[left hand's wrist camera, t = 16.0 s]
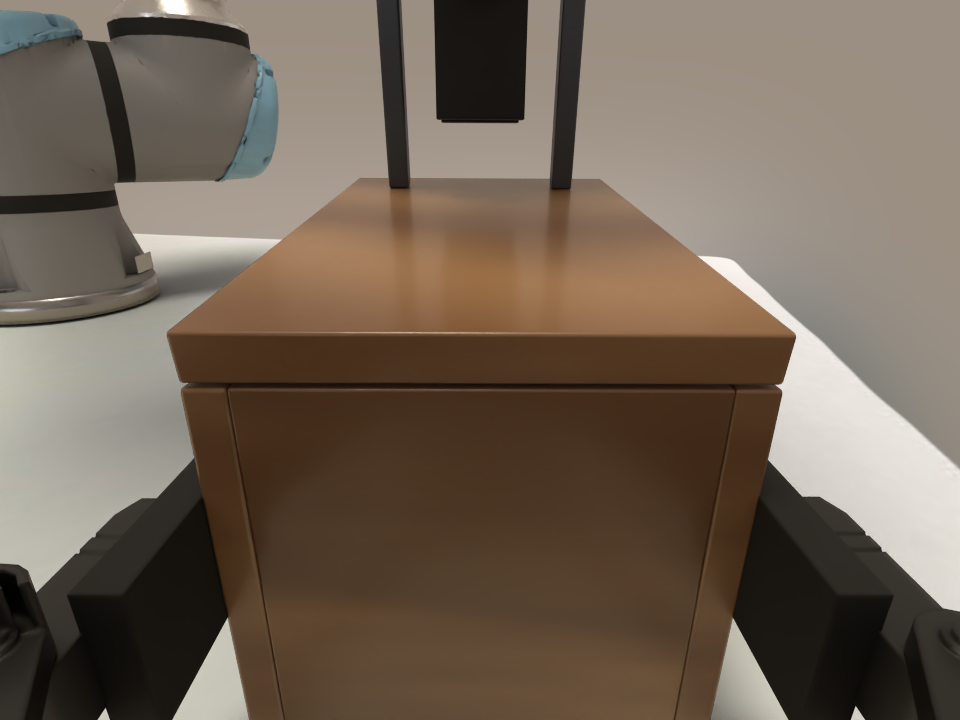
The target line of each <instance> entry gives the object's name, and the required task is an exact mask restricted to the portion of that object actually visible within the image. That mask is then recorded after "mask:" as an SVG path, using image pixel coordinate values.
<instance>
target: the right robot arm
mask: <svg viewBox="0 0 960 720" xmlns="http://www.w3.org/2000/svg"><path fill="white" fill-rule="evenodd" d="M527 16H528V0H434V22H435V67H436V113H437V119H438V120H442V122H443V123H518V121H519V120H523V119H524V109H525V78H526V47H527ZM107 26H108V31H109V36H110V41H111V42H98V41H88V40H83V39H82V37H83V36H82V31H81V30H80V29H79V28H78V26H77V24H76V23H75V22H74V21H73V20H71V19H70V18H67V17H65V16H61V15H56V14H42V13H39V12H31V11H9V10H0V325H10V324H31V323H43V322H53V321H61V320H69V319H76V318H82V317H88V316H94V315H99V314H104V313H109V312H113V311H118V310H122V309H125V308H129V307H132V306H135V305H138V304H141V303H144V302H146V301H149V300H151V299H152V298H154V297H156V296H157V295H158V294H159V292H160V290H159V285H158V280H157V276H156V272H155V271H154V269H153V263H152V258H151V253H150V252H147V253H145V254H144V252H143V251H142V249H141V247H140V246H139V244H138V242H137V241H136V239H135V237H134V236H133V234H132V232H131V231H130V229H129V227H128V226H127V224H126V223H125V221H124V219H123V217H122V215H121V212H120V209H119V205H118V200H117V196H116V191H115V186H114V184H115V183H123V182H171V181H217V182H223V181H225V180H230V179H244V178H253V177H256V176H258V175H260V174H261V173H262V172H264V170H265V169H266V168H267V166H268V165H269V163H270V161H271V158H272V155H273V152H274V148H275V144H276V138H277V130H278V94H277V86H276V81H275V79H274V78H273V70H272V68H271V66H270V64H269V62H268V61H267V60H266V59H264V58H262V57H260V56H259V55H257V54H251V53H250V46H249V39H248V33H247V30H246V29H245V28H244V27H243V26H242V25H241V24H240V23H239V22H238V21H237V20H236V19H235V18H234V17H233V16H232V15H231V14H230V12H229V10H228V9H227V2H226V0H121V3H120V4H119V5H118V6H117V7H116V8H115V10H114V11H113V12H112V13H111V14H110V15H109V16H108V18H107Z"/></svg>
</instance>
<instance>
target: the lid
mask: <svg viewBox="0 0 960 720" xmlns="http://www.w3.org/2000/svg"><path fill="white" fill-rule="evenodd" d="M585 2H586V0H561V4H560V21H559V37H558V54H557V70H556V87H555V104H554V121H553V137H552V153H551V170H550V179H465V178H464V179H463V178H410V164H409V145H408V126H407V106H406V87H405V67H404V48H403V28H402V10H401V0H377V15H378V29H379V44H380V58H381V73H382V88H383V102H384V117H385V131H386V145H387V160H388V174H389V178H360V179H358V180H357V181H356V182H354V183H353V184H352V185H351V186H349V187H348V188H347V189H346V190H344V191H343V192H342V193H341V194H339V195H338V196H337V197H336V198H334V199H333V200H332V201H331V202H329V203H328V204H327V205H326V206H324V207H323V208H322V209H321V210H319V211H318V212H317V213H316V214H314V215H313V216H312V217H310V218H309V219H308V220H307V221H305V222H304V223H303V224H302V225H300V226H299V227H298V228H297V229H295V230H294V231H293V232H292V233H290V234H289V235H288V236H287V237H285V238H284V239H283V240H282V241H280V242H279V243H278V244H277V245H275V246H274V247H273V248H272V249H270V250H269V251H268V252H267V253H265V254H264V255H263V256H262V257H260V258H259V259H258V260H257V261H255V262H254V263H253V264H252V265H250V266H249V267H248V268H247V269H245V270H244V271H243V272H242V273H240V274H239V275H238V276H237V277H235V278H234V279H233V280H232V281H230V282H229V283H228V284H227V285H225V286H224V287H223V288H222V289H220V290H219V291H218V292H216V293H215V294H214V295H213V296H211V297H210V298H209V299H208V300H206V301H205V302H204V303H203V304H201V305H200V306H199V307H198V308H196V309H195V310H194V311H193V312H191V313H190V314H189V315H188V316H186V317H185V318H184V319H183V320H181V321H180V322H179V323H178V324H176V325H175V326H174V327H173V328H171V329H170V330H169V331H168V332H167V338H168V342H169V346H170V349H171V353H172V356H173V360H174V363H175V367H176V370H177V374H178V377H179V380H180V382H182V383H418V384H755V385H779V384H782V382H783V380H784V377H785V374H786V370H787V367H788V363H789V360H790V357H791V353H792V350H793V346H794V343H795V340H796V335H795V333H794V332H793V331H791V330H790V329H789V328H787V327H786V326H785V325H784V324H782V323H781V322H780V321H779V320H777V319H776V318H775V317H774V316H772V315H771V314H770V313H768V312H767V311H766V310H765V309H763V308H762V307H761V306H760V305H758V304H757V303H756V302H755V301H753V300H752V299H751V298H750V297H748V296H747V295H746V294H744V293H743V292H742V291H741V290H739V289H738V288H737V287H736V286H734V285H733V284H732V283H731V282H729V281H728V280H727V279H726V278H724V277H723V276H722V275H720V274H719V273H718V272H717V271H715V270H714V269H713V268H712V267H710V266H709V265H708V264H707V263H705V262H704V261H703V260H701V259H700V258H699V257H698V256H696V255H695V254H694V253H693V252H691V251H690V250H689V249H688V248H686V247H685V246H684V245H683V244H681V243H680V242H679V241H677V240H676V239H675V238H674V237H672V236H671V235H670V234H669V233H667V232H666V231H665V230H664V229H662V228H661V227H660V226H658V225H657V224H656V223H655V222H653V221H652V220H651V219H650V218H648V217H647V216H646V215H645V214H643V213H642V212H641V211H639V210H638V209H637V208H636V207H634V206H633V205H632V204H631V203H629V202H628V201H627V200H626V199H624V198H623V197H622V196H620V195H619V194H618V193H617V192H615V191H614V190H613V189H612V188H610V187H609V186H608V185H607V184H605V183H604V182H603V181H602V180H600V179H572V169H573V156H574V143H575V130H576V117H577V104H578V91H579V79H580V66H581V53H582V40H583V27H584V15H585Z"/></svg>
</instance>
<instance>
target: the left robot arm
mask: <svg viewBox="0 0 960 720" xmlns="http://www.w3.org/2000/svg"><path fill="white" fill-rule="evenodd" d="M227 618H228V616H227V611H226V606H225V602H224V597H223V592H222V587H221V583H220V578H219V573H218V568H217V563H216V559H215V554H214V549H213V544H212V540H211V535H210V530H209V525H208V520H207V516H206V511H205V506H204V501H203V497H202V492H201V487H200V482H199V477H198V473H197V468H196V463H195V458H194V459H193V460H192V461H191V462H190V463H189V464H188V465H187V467H186V468H185V469H184V470H183V471H182V472H181V473H180V474H179V475H178V476H177V477H176V478H175V479H174V481H173V482H172V483H171V484H170V485H169V486H168V487H167V488H166V489H165V490H164V491H163V492H162V493H161V494H160V496H159V497H158V498H142V499H140V500H138V501H137V502H135V503H133V504H132V505H130V506H129V507H127V508H125V509H124V510H122V511H120V512H119V513H117V514H115V515H114V516H113V517H112V518H111V519H110V520H109V521H108V522H107V523H106V524H105V525H104V526H103V527H102V528H101V529H100V530H99V531H98V532H97V533H96V537H92V538H91V539H90V540H89V541H88V542H87V543H86V544H85V545H84V546H83V547H82V548H81V549H80V553H79V554H75V555H74V556H73V557H72V558H71V559H70V560H69V561H68V562H67V563H66V564H65V565H64V566H63V567H62V568H61V569H60V570H59V571H58V572H57V573H56V574H55V575H54V576H53V577H52V578H51V579H50V580H49V581H48V582H47V583H46V584H45V585H44V586H43V587H42V588H41V589H40V590H39V591H38V592H37V593H36V591H35V588H34V586H33V583H32V580H31V578H30V575H29V572H28V571H27V570H26V569H24V568H23V567H21V566H19V565H14V564H0V720H98V718H99V717H100V715H101V714H102V712H103V711H104V709H105V708H106V710H107V712H108V715H109V718H110V720H172V719H173V717H174V715H175V714H176V712H177V710H178V708H179V706H180V704H181V702H182V701H183V699H184V697H185V695H186V693H187V691H188V690H189V688H190V686H191V684H192V682H193V680H194V678H195V677H196V675H197V673H198V671H199V669H200V667H201V666H202V664H203V662H204V660H205V658H206V656H207V654H208V653H209V651H210V649H211V647H212V645H213V643H214V642H215V640H216V638H217V636H218V634H219V632H220V630H221V629H222V627H223V625H224V623H225V621H226V619H227ZM733 618H734V620H735V622H736V624H737V626H738V628H739V630H740V631H741V633H742V635H743V637H744V639H745V641H746V642H747V644H748V646H749V648H750V650H751V652H752V653H753V655H754V657H755V659H756V661H757V663H758V665H759V666H760V668H761V670H762V672H763V674H764V676H765V677H766V679H767V681H768V683H769V685H770V687H771V689H772V690H773V692H774V694H775V696H776V698H777V700H778V701H779V703H780V705H781V707H782V709H783V711H784V713H785V714H786V716H787V718H788V720H851V717H852V715H853V712H854V709H855V706H856V707H857V708H858V710H859V711H860V713H861V714H862V716H863V717H864V719H865V720H960V612H959V611H954V610H948V609H943V608H942V607H941V606H940V605H939V604H938V603H937V602H936V601H935V600H934V599H933V598H932V597H931V596H930V595H929V594H928V593H927V592H926V591H925V590H924V589H923V588H922V587H921V586H920V585H919V584H918V583H917V582H916V581H915V580H914V579H913V578H912V577H910V576H909V575H908V574H907V573H906V572H905V571H904V570H903V569H902V568H901V567H900V566H899V565H898V564H897V563H896V562H895V561H894V560H893V559H892V558H891V557H890V556H889V555H888V554H887V553H886V552H882V550H881V547H880V546H879V545H878V544H877V543H876V542H875V541H874V540H873V539H872V538H871V537H870V536H866V534H865V531H864V530H863V529H862V528H861V527H860V526H859V525H858V524H857V523H856V522H855V521H854V520H853V519H852V518H851V517H850V516H849V515H848V514H847V513H845V512H844V511H842V510H840V509H839V508H837V507H835V506H834V505H832V504H830V503H829V502H827V501H825V500H824V499H822V498H820V497H802V496H801V495H800V494H799V493H798V492H797V491H796V490H795V488H794V487H793V486H792V485H791V484H790V483H789V482H788V481H787V480H786V479H785V478H784V477H783V476H782V475H781V473H780V472H779V471H778V470H777V469H776V468H775V467H774V466H773V465H772V464H771V463H770V462H769V461H767V465H766V470H765V475H764V479H763V484H762V488H761V493H760V497H759V499H758V503H757V508H756V512H755V517H754V522H753V526H752V531H751V535H750V540H749V545H748V549H747V554H746V559H745V563H744V568H743V572H742V577H741V582H740V586H739V591H738V595H737V600H736V605H735V609H734V614H733Z"/></svg>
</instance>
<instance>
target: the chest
mask: <svg viewBox="0 0 960 720" xmlns="http://www.w3.org/2000/svg"><path fill="white" fill-rule="evenodd" d="M181 396H182V401H183V406H184V411H185V415H186V420H187V425H188V430H189V435H190V439H191V444H192V449H193V454H194V458H195V463H196V468H197V473H198V477H199V482H200V487H201V492H202V497H203V501H204V506H205V511H206V516H207V520H208V525H209V530H210V535H211V540H212V544H213V549H214V554H215V559H216V563H217V568H218V573H219V578H220V583H221V587H222V592H223V597H224V602H225V606H226V611H227V616H228V621H229V626H230V630H231V635H232V640H233V645H234V649H235V654H236V659H237V664H238V669H239V673H240V678H241V683H242V688H243V692H244V697H245V702H246V707H247V712H248V716H249V720H710V719H711V714H712V709H713V705H714V700H715V696H716V691H717V687H718V682H719V678H720V673H721V669H722V664H723V660H724V655H725V651H726V646H727V642H728V637H729V633H730V628H731V624H732V619H733V614H734V609H735V605H736V600H737V595H738V591H739V586H740V582H741V577H742V572H743V568H744V563H745V559H746V554H747V549H748V545H749V540H750V535H751V531H752V526H753V522H754V517H755V512H756V508H757V503H758V499H759V497H760V493H761V488H762V484H763V479H764V475H765V470H766V465H767V461H768V456H769V452H770V447H771V443H772V438H773V434H774V429H775V425H776V420H777V416H778V411H779V407H780V402H781V398H782V390H781V389H779V388H778V387H777V386H776V385H755V384H418V383H188V384H187V385H185V386H184V387H183V388H182V390H181Z"/></svg>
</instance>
